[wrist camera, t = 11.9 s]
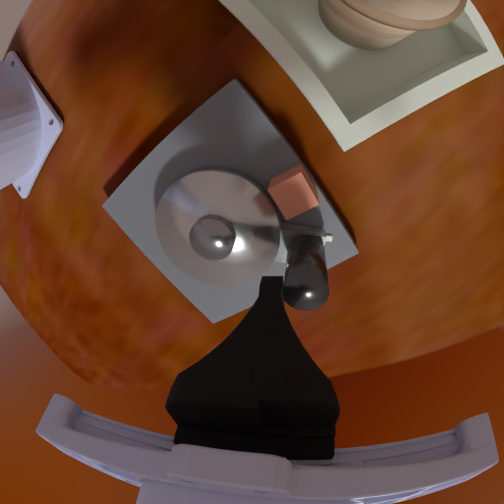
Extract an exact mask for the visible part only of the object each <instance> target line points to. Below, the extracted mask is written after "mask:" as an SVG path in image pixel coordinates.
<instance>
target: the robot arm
mask: <svg viewBox="0 0 504 504" xmlns="http://www.w3.org/2000/svg"><path fill="white" fill-rule="evenodd" d="M62 129H63V122H62V120H61V118H60V117H59V116H58V114H57V113H56V112H55V110H54V109H53V107H52V106H51V105H50V103H49V102H48V100H47V99H46V98H45V96H44V95H43V93H42V92H41V90H40V89H39V87H38V86H37V85H36V83H35V82H34V80H33V79H32V77H31V76H30V74H29V73H28V71H27V70H26V68H25V67H24V65H23V63H22V62H21V60H20V59H19V57H18V56H17V54H16V52H15V51H10V52H8V54H7V56H6V58H5V60H4V61H0V190H1V189H2V188H4V187H6V186H7V185H9V184H11V183H12V184H13V186H14V187H15V189H16V190H17V192H18V193H19V195H20V196H21V197H22V198H26V197H28V195H29V193H30V191H31V188H32V186H33V184H34V182H35V180H36V178H37V175H38V173H39V171H40V169H41V167H42V165H43V163H44V161H45V160H46V158H47V156H48V154H49V152H50V150H51V148H52V147H53V145H54V143H55V141H56V140H57V138H58V136H59V134H60V133H61V131H62ZM283 286H284V280H283V276H262V278H261V282H260V285H259V296H258V298H257V299H256V301H255V303H254V304H253V306H252V307H251V309H250V310H249V311H248V313H247V314H246V316H245V317H244V318H243V320H242V321H241V322H240V323H239V325H238V326H237V327H236V328H235V329H234V330H233V331H232V332H231V334H230V335H229V336H228V337H227V338H226V339H225V340H224V341H223V342H221V343H220V344H219V345H218V346H217V347H216V348H215V349H214V350H212V351H211V352H210V353H209V354H207V355H206V356H205V357H204V358H202V359H201V360H200V361H198V362H197V363H195V364H194V365H192V366H191V367H189V368H187V369H186V370H184V371H183V372H181V373H179V374H178V376H177V377H176V379H175V381H174V383H173V385H172V387H171V390H170V392H169V395H168V398H167V401H166V406H165V407H166V410H167V411H168V413H169V414H170V416H171V417H172V418H173V419H174V421H175V422H176V423H177V425H178V427H177V430H176V433H175V437H173V436H168V435H164V434H160V433H155V432H151V431H147V430H144V429H140V428H136V427H133V426H129V425H126V424H122V423H119V422H116V421H113V420H110V419H107V418H104V417H101V416H98V415H95V414H93V413H90V412H87V411H85V410H82V409H81V407H80V406H79V405H78V404H77V403H75V402H74V401H73V400H71V399H69V398H66V397H64V396H62V395H59V394H57V393H55V394H54V396H53V398H52V400H51V401H50V403H49V405H48V407H47V409H46V411H45V413H44V415H43V417H42V419H41V421H40V423H39V425H38V427H37V429H36V433H37V434H38V435H40V436H41V437H42V438H44V439H45V440H47V441H48V442H49V443H51V444H52V445H54V446H55V447H57V448H58V449H60V450H61V451H62V452H64V453H65V454H67V455H69V456H71V457H73V458H75V459H77V460H79V461H81V462H83V463H85V464H87V465H89V466H91V467H93V468H95V469H98V470H100V471H102V472H104V473H106V474H109V475H111V476H113V477H116V478H118V479H120V480H123V481H125V482H128V483H131V484H133V485H136V486H139V487H141V488H140V491H139V495H138V498H137V502H136V504H391V503H396V502H400V501H404V500H408V499H412V498H416V497H419V496H422V495H426V494H429V493H432V492H435V491H439V490H442V489H445V488H447V487H450V486H453V485H456V484H459V483H461V482H464V481H466V480H469V479H470V478H472V477H474V476H476V475H478V474H480V473H481V472H483V471H485V470H487V469H488V468H490V467H491V466H493V465H495V464H496V463H498V461H499V458H498V453H497V449H496V444H495V440H494V435H493V431H492V427H491V423H490V420H489V416H488V413H483V414H480V415H477V416H474V417H471V418H468V419H466V420H464V421H462V422H461V423H460V424H458V425H457V426H456V428H455V429H452V430H448V431H445V432H441V433H437V434H433V435H429V436H424V437H420V438H415V439H410V440H405V441H399V442H393V443H387V444H380V445H372V446H364V447H353V448H341V449H335V447H334V445H335V443H334V437H335V434H336V431H335V425H336V422H337V419H338V417H339V414H340V407H339V402H338V398H337V395H336V393H335V390H334V388H333V385H332V383H331V381H330V380H329V379H328V378H327V376H326V375H325V374H324V373H323V372H322V371H321V370H320V369H319V367H318V366H317V365H316V364H315V362H314V361H313V360H312V358H311V357H310V355H309V354H308V352H307V351H306V350H305V348H304V347H303V345H302V343H301V342H300V340H299V338H298V337H297V335H296V333H295V331H294V329H293V327H292V325H291V323H290V321H289V318H288V316H287V314H286V311H285V308H284V297H283Z"/></svg>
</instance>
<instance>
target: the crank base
mask: <svg viewBox="0 0 504 504" xmlns="http://www.w3.org/2000/svg"><path fill="white" fill-rule="evenodd" d="M206 167H223V168H228V169H233V170H236V171H239V172H241V173H243V174H245V175H247V176H249V177H250V178H252V179H254V180H255V181H256V182H257V183H259V184H260V185H261V186H262V187H263V188H264V189H265V190H266V191H267V192H268V194H269V195H270V196H271V198H272V199H273V201H274V203H275V205H276V207H277V209H278V212H279V215H280V220H281V222H286V223H292V224H298V225H303V226H309V227H314V228H320V229H325V230H326V237H327V238H326V242H325V245H324V247H325V256H326V266H327V269H329V268H331V267H333V266H335V265H337V264H339V263H341V262H342V261H344V260H346V259H348V258H350V257H352V256H354V255H356V254H358V253H359V251H358V247H357V244H356V243H355V241H354V239H353V238H352V236H351V235H350V233H349V231H348V230H347V228H346V226H345V225H344V223H343V222H342V220H341V218H340V217H339V215H338V214H337V212H336V211H335V209H334V207H333V206H332V204H331V203H330V201H329V200H328V198H327V197H326V195H325V194H324V192H323V191H322V189H321V188H320V186H319V185H318V183H317V182H316V180H315V179H314V177H313V176H312V175H311V173H310V172H309V170H308V169H307V167H306V166H305V165H304V163H303V162H302V160H301V159H300V158H299V156H298V155H297V153H296V152H295V151H294V149H293V148H292V147H291V145H290V144H289V143H288V141H287V140H286V138H285V137H284V136H283V134H282V133H281V132H280V131H279V129H278V128H277V127H276V125H275V124H274V123H273V121H272V120H271V119H270V118H269V116H268V115H267V114H266V113H265V111H264V110H263V109H262V108H261V106H260V105H259V104H258V103H257V101H256V100H255V99H254V98H253V97H252V95H251V94H250V93H249V92H248V91H247V89H246V88H245V87H244V86H243V85H242V83H241V82H240V81H239V80H238V79H233V80H232V81H231V82H229V83H228V84H227V85H225V86H224V87H223V88H222V89H220V90H219V91H218V92H217V93H215V94H214V95H213V96H212V97H211V98H209V99H208V100H207V101H206V102H205V103H203V104H202V105H201V106H200V107H199V108H198V109H196V110H195V111H194V112H193V113H192V114H191V115H190V116H188V117H187V118H186V119H185V120H184V121H183V122H182V123H181V124H180V125H178V126H177V127H176V128H175V129H174V130H173V131H172V132H171V133H170V134H169V135H168V136H167V137H166V138H165V139H164V140H163V141H162V142H160V143H159V144H158V145H157V146H156V147H155V148H154V149H153V150H152V151H151V152H150V153H149V154H148V155H147V157H146V158H145V159H144V160H143V161H142V162H141V163H140V164H139V165H138V166H137V167H136V168H135V169H134V170H133V171H132V172H131V173H130V174H129V176H128V177H127V178H126V179H125V180H124V181H123V182H122V183H121V184H120V186H119V187H118V188H117V189H116V190H115V191H114V192H113V194H112V195H111V196H110V197H109V198H108V200H107V201H106V202H105V203H104V204H103V205H102V206H103V208H104V209H105V210H106V211H107V212H108V214H109V215H110V216H111V217H112V218H113V219H114V221H115V222H116V223H117V224H118V225H119V226H120V227H121V229H122V230H123V231H124V232H125V233H126V234H127V235H128V236H129V238H130V239H131V240H132V241H133V242H134V243H135V244H136V245H137V246H138V248H139V249H140V250H141V251H142V252H143V253H144V254H145V255H146V256H147V257H148V258H149V259H150V261H151V262H152V263H153V264H154V265H155V266H156V267H157V268H158V269H159V270H160V271H161V272H162V273H163V274H164V275H165V276H166V277H167V278H168V279H169V280H170V281H171V282H172V283H173V285H174V286H175V287H176V288H177V289H178V290H179V291H180V292H181V293H182V294H183V295H184V296H185V297H186V298H187V299H188V300H189V301H190V302H191V303H193V304H194V305H195V306H196V307H197V308H198V309H199V310H200V311H201V312H202V313H203V314H204V315H205V316H206V317H207V318H208V319H209V320H210V321H211V322H212V323H213V324H214V323H216V322H218V321H220V320H223V319H225V318H227V317H229V316H232V315H234V314H236V313H238V312H240V311H243V310H245V309H247V308H249V307H251V306H253V304H254V303H255V301H256V299H257V298H258V296H259V285H260V282H261V278H262V276H283V280H284V277H285V268H286V263H283V262H277V261H274V262H273V263H272V265H271V266H270V267H269V269H268V270H267V271H266V272H265V273H264V274H262V275H261V276H260V277H258V278H257V279H255V280H253V281H251V282H249V283H246V284H243V285H238V286H231V287H220V286H213V285H209V284H205V283H202V282H200V281H197V280H195V279H193V278H191V277H189V276H188V275H186V274H185V273H183V272H182V271H181V270H179V269H178V268H177V267H176V266H175V265H174V264H173V263H172V262H171V261H170V260H169V258H168V257H167V256H166V254H165V253H164V251H163V249H162V247H161V245H160V243H159V240H158V237H157V233H156V226H155V217H156V211H157V207H158V204H159V202H160V200H161V197H162V196H163V194H164V193H165V191H166V190H167V189H168V188H169V187H170V186H171V185H172V184H174V183H175V182H176V181H177V180H178V179H180V178H181V177H182V176H184V175H186V174H187V173H189V172H192V171H194V170H197V169H201V168H206Z"/></svg>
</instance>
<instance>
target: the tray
mask: <svg viewBox="0 0 504 504" xmlns="http://www.w3.org/2000/svg"><path fill="white" fill-rule="evenodd" d="M218 1H219V2H220V3H221V4H222V5H223V6H225V7H226V8H227V9H228V10H229V11H230V12H231V13H232V14H233V15H234V16H235V17H236V18H237V19H238V20H239V21H240V22H241V23H242V24H243V25H244V26H245V27H246V28H247V29H248V30H249V31H250V32H251V34H252V35H253V36H254V37H255V38H256V39H257V40H258V41H259V42H260V43H261V44H262V45H263V47H264V48H265V49H266V50H267V51H268V52H269V53H270V54H271V56H272V57H273V58H274V59H275V60H276V61H277V63H278V64H279V65H280V66H281V67H282V69H283V70H284V71H285V72H286V73H287V75H288V76H289V77H290V78H291V80H292V81H293V82H294V83H295V85H296V86H297V87H298V88H299V90H300V91H301V92H302V94H303V95H304V96H305V97H306V99H307V100H308V101H309V103H310V104H311V106H312V107H313V108H314V110H315V111H316V112H317V114H318V115H319V117H320V118H321V119H322V121H323V122H324V124H325V125H326V127H327V128H328V129H329V131H330V132H331V134H332V135H333V137H334V138H335V140H336V141H337V143H338V144H339V145H340V147H341V148H342V149H343V151H344V152H345V151H347V150H348V149H350V148H352V147H353V146H355V145H357V144H358V143H360V142H362V141H363V140H365V139H367V138H368V137H370V136H372V135H373V134H375V133H377V132H379V131H380V130H382V129H384V128H386V127H387V126H389V125H391V124H392V123H394V122H396V121H398V120H399V119H401V118H403V117H405V116H406V115H408V114H410V113H412V112H414V111H415V110H417V109H419V108H421V107H423V106H424V105H426V104H428V103H430V102H432V101H433V100H435V99H437V98H439V97H441V96H443V95H445V94H446V93H448V92H450V91H452V90H454V89H456V88H458V87H460V86H462V85H463V84H465V83H467V82H469V81H471V80H473V79H475V78H477V77H479V76H481V75H483V74H485V73H487V72H489V71H491V70H493V69H495V68H497V67H499V66H501V65H503V64H504V58H503V56H502V54H501V52H500V50H499V48H498V46H497V44H496V42H495V40H494V38H493V37H492V35H491V33H490V31H489V29H488V28H487V26H486V24H485V23H484V21H483V19H482V18H481V16H480V14H479V13H478V11H477V10H476V8H475V7H474V5H473V4H472V2H471V1H470V0H467V3H466V6H465V8H464V10H463V12H462V13H461V14H460V16H459V17H457V18H456V19H455V20H453V21H451V22H449V23H447V24H445V25H443V26H441V27H438V28H435V29H431V30H425V31H416V32H414V33H412V34H411V35H409V36H407V37H405V38H404V39H402V40H400V41H398V42H397V43H395V44H393V45H392V46H390V47H388V48H385V49H381V50H363V49H358V48H355V47H352V46H350V45H347V44H345V43H344V42H342V41H340V40H339V39H337V38H336V37H335V36H334V35H332V34H331V33H330V32H329V30H328V29H327V28H326V27H325V25H324V24H323V22H322V20H321V18H320V15H319V10H318V0H218Z"/></svg>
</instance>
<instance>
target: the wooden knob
mask: <svg viewBox="0 0 504 504" xmlns="http://www.w3.org/2000/svg"><path fill="white" fill-rule="evenodd" d="M466 3H467V0H318V10H319V15H320V18H321V20H322V22H323V24H324V25H325V27H326V28H327V29H328V30H329V32H330V33H331V34H332V35H334V36H335V37H336V38H337V39H339V40H340V41H342V42H344V43H345V44H347V45H350V46H352V47H355V48H358V49H363V50H381V49H385V48H388V47H390V46H392V45H393V44H395V43H397V42H398V41H400V40H402V39H404V38H405V37H407V36H409V35H411V34H412V33H414V32H416V31H425V30H431V29H435V28H438V27H441V26H443V25H445V24H447V23H449V22H451V21H453V20H455V19H456V18H457V17H459V16H460V14H461V13H462V12H463V10H464V8H465V6H466Z"/></svg>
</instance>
